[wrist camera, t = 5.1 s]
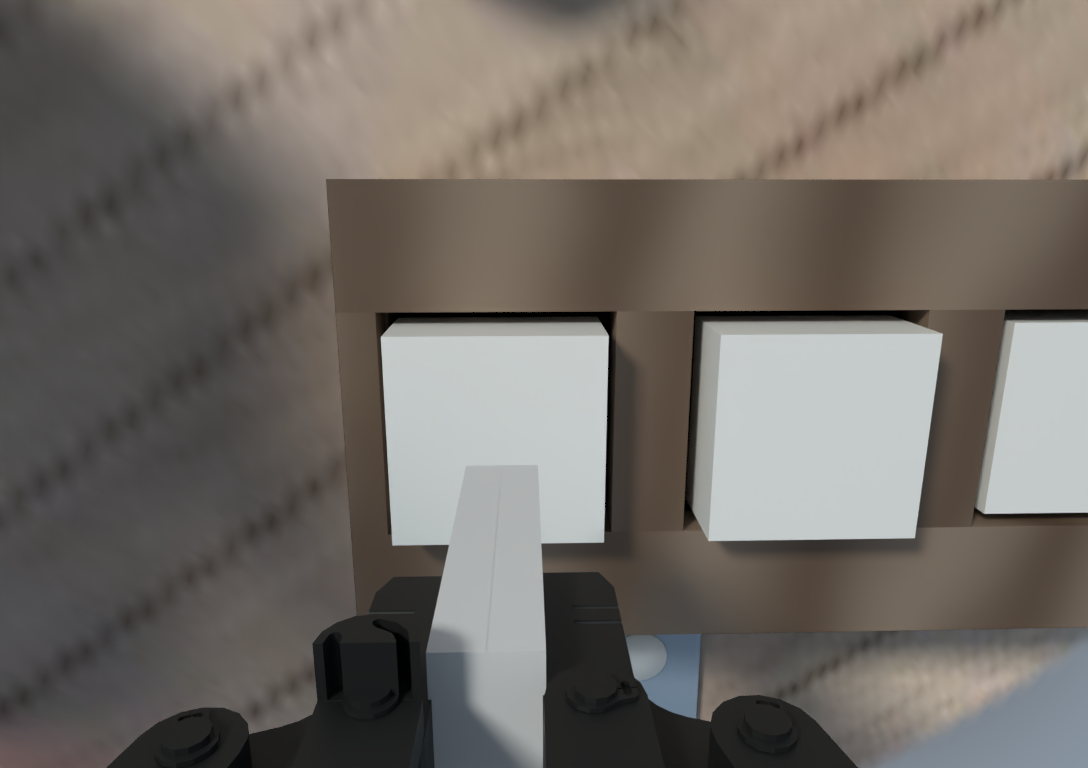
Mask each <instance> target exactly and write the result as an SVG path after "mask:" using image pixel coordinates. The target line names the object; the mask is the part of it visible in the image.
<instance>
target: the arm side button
mask: <svg viewBox="0 0 1088 768" xmlns="http://www.w3.org/2000/svg"><path fill="white" fill-rule="evenodd" d="M608 343H609V335H608V334H607V332H606V330H605V329H604V327H603V325H602V324H601V322H600V320H599V319H598V317H416V318H398V319H397V320H396V321H395V322H394V323H393V324H392V325H391V326H390V327H389V328H388V330H387V331H386V332H385V333H384V334H383V335H382V336H381V351H382V369H383V387H384V405H385V422H386V440H387V458H388V476H389V494H390V512H391V530H392V546H394V545H449V543H450V539H451V534H452V529H453V525H454V520H455V515H456V511H457V506H458V501H459V497H460V492H461V488H462V483H463V478H464V474H465V469H466V466H497V465H538V480H539V502H540V525H541V543H604V520H605V476H606V431H607V387H608Z"/></svg>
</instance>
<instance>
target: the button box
mask: <svg viewBox="0 0 1088 768" xmlns="http://www.w3.org/2000/svg"><path fill="white" fill-rule="evenodd" d="M326 185H327V199H328V213H329V227H330V241H331V255H332V269H333V283H334V298H335V312H336V326H337V340H338V354H339V368H340V382H341V396H342V411H343V425H344V439H345V453H346V467H347V481H348V495H349V510H350V524H351V538H352V552H353V566H354V580H355V594H356V608H357V616H361V615H368V614H369V609H370V607H371V604H372V601H373V599H374V596H375V593H376V592H377V591H378V590H379V589H380V588H382V587H383V586H384V585H385V584H386V583H387V582H388V581H390V580H391V579H392V578H393V577H419V576H443V571H444V566H445V562H446V557H447V553H448V548H449V545H394V546H392V530H391V512H390V494H389V476H388V458H387V440H386V422H385V405H384V387H383V369H382V351H381V336H382V335H383V334H384V333H385V332H386V331H387V330H388V328H389V327H390V326H391V325H392V324H393V323H394V322H395V321H396V320H397V319H398V318H413V314H412V312H602V311H611V317H610V360H609V404H608V447H607V491H606V511H605V520H604V543H541V547H542V570H543V573H558V572H599V573H600V574H601V575H602V576H603V577H604V578H605V579H606V580H607V581H608V582H609V583H610V584H611V585H612V586H613V587H614V589H615V593H616V598H617V602H618V608H619V611H620V616H621V623H622V625H623V629H624V634H625V635H675V634H731V633H787V632H844V631H900V630H956V629H1013V628H1069V627H1088V513H1013V514H984V513H982V512H981V511H979V510H978V509H977V508H975V507H974V506H975V499H976V493H977V487H978V480H979V474H980V468H981V461H982V455H983V449H984V442H985V436H986V429H987V423H988V417H989V410H990V404H991V398H992V391H993V385H994V379H995V372H996V366H997V360H998V353H999V347H1000V341H1001V334H1002V328H1003V322H1004V315H1005V310H1027V309H1088V180H495V179H326ZM815 310H903V316H902V320H905V321H908V322H911V323H914V324H917V325H919V326H922V327H925V328H928V329H931V330H934V331H937V332H939V333H942V334H943V337H942V344H941V351H940V358H939V366H938V373H937V380H936V388H935V395H934V402H933V409H932V417H931V424H930V431H929V439H928V446H927V453H926V460H925V468H924V475H923V482H922V489H921V497H920V504H919V511H918V519H917V526H916V533H915V538H894V539H823V540H751V541H708V539H707V537H706V536H705V534H704V532H703V530H702V528H701V526H700V524H699V522H698V520H697V519H696V517H695V515H694V513H693V511H692V510H684V501H685V481H686V462H687V442H688V423H689V404H690V384H691V365H692V345H693V326H694V311H815Z"/></svg>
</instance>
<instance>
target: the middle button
mask: <svg viewBox="0 0 1088 768" xmlns="http://www.w3.org/2000/svg"><path fill="white" fill-rule="evenodd" d="M942 337H943V334H942V333H939V332H937V331H934V330H931V329H928V328H925V327H922V326H919V325H917V324H914V323H911V322H908V321H905V320H902V319H899V318H896V317H894V316H891V315H822V316H696V318H695V337H694V357H693V376H692V395H691V414H690V433H689V453H688V472H687V491H686V500H687V502H688V504H689V505H690V507H691V509H692V511H693V513H694V515H695V517H696V519H697V520H698V522H699V524H700V526H701V528H702V530H703V532H704V534H705V536H706V537H707V539H708V541H751V540H823V539H894V538H915V533H916V526H917V519H918V511H919V504H920V497H921V489H922V482H923V475H924V468H925V460H926V453H927V446H928V439H929V431H930V424H931V417H932V409H933V402H934V395H935V388H936V380H937V373H938V366H939V358H940V351H941V344H942Z"/></svg>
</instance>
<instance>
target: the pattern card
mask: <svg viewBox="0 0 1088 768" xmlns="http://www.w3.org/2000/svg"><path fill="white" fill-rule="evenodd" d="M625 638H626V643H627V647H628V652H629V656H630V661H631V665H632V670H633V674H634V678H635V679H637V680H638V681H639V682H641V684H642V686H643V688H644V690H645V691H646V693H647V695H648V699H649V700H651V701H652V702H653V703H655V704H656V705H658V706H660V707H662V708H664V709H666V710H668V711H670V712H673V713H676V714H679V715H683V716H686V717H690V718H695V719H696V710H697V693H698V677H699V660H700V644H701V634H675V635H625Z"/></svg>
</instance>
